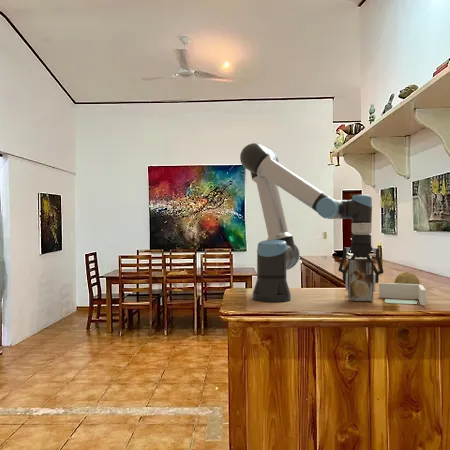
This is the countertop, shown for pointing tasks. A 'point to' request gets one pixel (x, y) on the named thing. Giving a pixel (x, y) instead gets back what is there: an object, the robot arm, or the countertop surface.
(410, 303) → the pad
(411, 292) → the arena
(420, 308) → the countertop surface
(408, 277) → the potato
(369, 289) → the coffee box
